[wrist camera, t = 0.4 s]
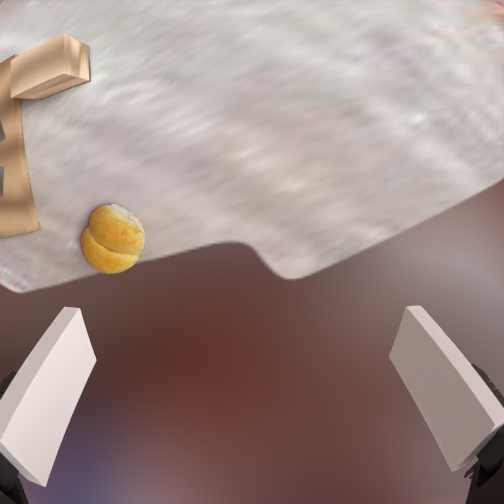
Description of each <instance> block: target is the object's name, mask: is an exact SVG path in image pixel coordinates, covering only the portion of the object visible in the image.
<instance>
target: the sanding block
mask: <svg viewBox="0 0 504 504" xmlns="http://www.w3.org/2000/svg"><path fill="white" fill-rule="evenodd" d="M90 81H91V70H90V46H88V45H86V44H84V43H82V42H80V41H78V40H76V39H74V38H72V37H70V36H68V35H65V34H62V35H60V36H58V37H56V38H53V39H51V40H49V41H47V42H45V43H43V44H41V45H39V46H37V47H35V48H33V49H31V50H29V51H27V52H25V53H23V54H21V55H20V56H18V57H16V58H14V59H13V60H11V98H25V99H41V100H42V99H44V98H47V97H49V96H51V95H54V94H56V93H59V92H62V91H64V90H67V89H70V88H72V87H75V86H78V85H81V84H84V83H87V82H90Z"/></svg>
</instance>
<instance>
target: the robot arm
mask: <svg viewBox="0 0 504 504" xmlns="http://www.w3.org/2000/svg"><path fill="white" fill-rule="evenodd" d="M389 358H390V359H391V361H392V362H393V364H394V366H395V368H396V369H397V371H398V373H399V375H400V376H401V378H402V380H403V381H404V383H405V385H406V387H407V388H408V390H409V392H410V393H411V395H412V397H413V399H414V401H415V402H416V404H417V406H418V408H419V410H420V412H421V413H422V415H423V417H424V419H425V420H426V423H427V424H428V426H429V428H430V430H431V432H432V434H433V436H434V438H435V439H436V441H437V443H438V445H439V447H440V449H441V451H442V453H443V455H444V457H445V459H446V461H447V463H448V465H449V467H450V469H451V471H452V472H453V471H456V470H458V469H459V468H462V467H464V466H465V465H467V464H468V463H469V462H470V461H471V460H472V459H473V458H474V457H475V456H477V458H478V459H479V460H478V461H477V462H476V463H475V464H474V465H473V466H472V467H471V468H470V469H469V470H468V471H467V472H466V473H465V475H464V477H465V478H466V477H467V476H468V475H469V474H470V473H472V472H473V474H472V475H471V476H470V478H469V479H472V480H471V485H470V489H469V493H468V497H467V500H466V504H504V397H503V396H502V394H501V393H500V392H499V390H498V389H496V387H495V386H494V384H493V383H492V382H490V379H489V378H488V376H487V375H486V374H485V373H484V371H483V370H481V369H480V368H478V367H477V366H476V365H474V364H470V363H469V362H468V361H467V359H466V358H465V357H464V356H463V354H462V353H461V352H460V351H459V349H458V348H457V347H456V346H455V345H454V343H453V342H452V341H451V340H450V339H449V338H448V336H447V335H446V334H445V333H444V332H443V331H442V329H441V328H440V327H439V326H438V325H437V324H436V322H435V321H434V320H433V319H432V318H431V317H430V316H429V315H428V313H427V312H426V311H425V310H424V309H423V308H422V307H421V306H420V305H419V306H409V307H406V309H405V312H404V315H403V319H402V322H401V325H400V328H399V331H398V333H397V336H396V339H395V342H394V345H393V348H392V350H391V353H390V356H389ZM95 362H96V358H95V355H94V352H93V349H92V346H91V344H90V340H89V337H88V334H87V331H86V328H85V324H84V321H83V318H82V315H81V311H80V308H72V307H64V308H63V310H62V311H61V312H60V313H59V315H58V316H57V317H56V319H55V320H54V321H53V323H52V324H51V325H50V327H49V328H48V329H47V331H46V332H45V333H44V335H43V336H42V338H41V339H40V340H39V342H38V343H37V345H36V346H35V348H34V349H33V350H32V352H31V353H30V355H29V356H28V358H27V359H26V361H25V362H24V363H23V365H22V366H21V368H20V370H19V371H18V373H16V372H12V373H11V374H10V375H8V376H7V377H6V378H5V379H4V380H3V381H2V382H1V384H0V504H29V503H28V500H27V498H26V495H25V492H24V490H23V487H22V484H21V482H20V480H19V478H18V477H17V476H18V473H19V472H20V473H21V474H22V475H23V476H25V477H26V478H27V479H28V480H30V481H32V482H35V483H37V484H39V485H42V486H44V487H45V486H46V483H47V480H48V477H49V474H50V471H51V468H52V466H53V463H54V460H55V457H56V454H57V452H58V449H59V446H60V444H61V441H62V439H63V436H64V433H65V431H66V428H67V426H68V423H69V421H70V418H71V416H72V413H73V411H74V409H75V406H76V404H77V402H78V399H79V397H80V395H81V392H82V390H83V388H84V386H85V383H86V381H87V379H88V377H89V375H90V373H91V370H92V368H93V366H94V364H95Z"/></svg>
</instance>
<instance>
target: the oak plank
mask: <svg viewBox="0 0 504 504" xmlns="http://www.w3.org/2000/svg"><path fill="white" fill-rule="evenodd" d="M16 57H18V55H13V56H11V57H10V58H8V59H6V60H5V61H3V62H1V63H0V238H5V237H9V236H14V235H18V234H23V233H27V232H32V231H35V230H37V229H38V228H40V225H39V221H38V217H37V213H36V209H35V205H34V200H33V195H32V190H31V185H30V180H29V174H28V168H27V162H26V155H25V147H24V139H23V129H22V117H21V101H20V98H11V60H13V59H14V58H16Z"/></svg>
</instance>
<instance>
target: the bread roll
mask: <svg viewBox="0 0 504 504" xmlns="http://www.w3.org/2000/svg"><path fill="white" fill-rule="evenodd" d="M144 243H145V231H144V228H143V226H142V224H141V222H140V220H139V219H138V218H137V217H136V216H134V215H133V214H132V213H131V212H130V211H128V210H127V209H125V208H123V207H121V206H119V205H117V204H109V205H104V206H100V207H98V208H97V209H96V210H95V211H94V212H93V213H92V214H91V216H90V219H89V227H87V228H86V229H85V230H84V232H83V234H82V237H81V247H82V251H83V254H84V256H85V258H86V259H87V261H88V262H89V263H90V264H91V265H92V266H93V267H94V268H95V269H97V270H98V271H101V272H103V273H109V274H112V273H118V272H122V271H124V270H126V269H128V268H130V267H132V266H133V265H134V264H135V263H136V262H137V260H138V259H139V256H140V254H141V252H142V250H143V248H144Z"/></svg>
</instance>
